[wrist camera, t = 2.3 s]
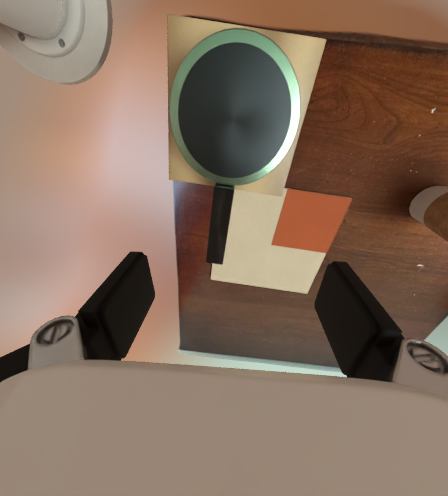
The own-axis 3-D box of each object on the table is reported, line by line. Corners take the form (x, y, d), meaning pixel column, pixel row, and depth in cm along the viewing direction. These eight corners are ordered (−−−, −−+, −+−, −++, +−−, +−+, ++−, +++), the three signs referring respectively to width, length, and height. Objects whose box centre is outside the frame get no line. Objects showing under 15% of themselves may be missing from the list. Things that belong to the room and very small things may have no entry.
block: (194, 161, 33) (168, 179, 21) (199, 65, 27) (167, 13, 15) (266, 172, 33) (281, 196, 21) (288, 78, 27) (326, 38, 15)
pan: (258, 251, 25) (260, 270, 21) (177, 239, 25) (167, 257, 21) (308, 54, 15) (328, 33, 12) (180, 34, 15) (162, 7, 12)
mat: (210, 277, 45) (210, 279, 45) (223, 178, 34) (222, 179, 33) (306, 291, 46) (307, 294, 45) (350, 197, 34) (352, 198, 34)
